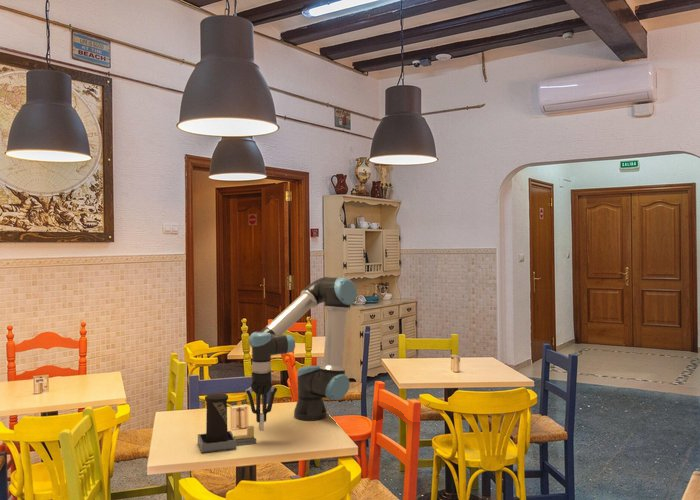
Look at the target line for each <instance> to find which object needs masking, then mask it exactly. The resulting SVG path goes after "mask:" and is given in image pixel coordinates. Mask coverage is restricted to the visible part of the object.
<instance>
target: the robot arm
mask: <svg viewBox="0 0 700 500" xmlns="http://www.w3.org/2000/svg"><path fill="white" fill-rule="evenodd" d="M357 293H358V292H357V287H356V284H354V282H353V281H352V280H351V279H350V278H345V277H330V276H324V277H319V278H317V279H316V280H314V281H313V282H311V283H310V284H308V285H307V286H306V287H304V289H303V290H302V291H301V292H300V295H299V296H298V297H296V299H295V300H294V301H292V302H291V303H290V304H289V305H288V306H287V307H286V308H285V309H283V311H282V312H280V313H279V314H277V316H276V317H275V318H274V319H272V320H271V322H270V323H269V324H267V325H266V326H265V327H264V328H263V329H262V330H260V331H254V332H252V333H251V334H249V335H250V336H249V338H248V344H249V346H250V348H251V371H252V372H251V384H250V387H249V388H246V389H245V390H244V391H245V394H247V398H248V400H249V401H248V402H249V406H250V409H251V413H252V414H255V416H256V419H255V420H256V421H255V422H256V423H258V430H259V431H260V432H262V431H263V432H264V431H265V422H267V414H268V413H271V411H272V408H273V404H274V401H275V400H274V399H275V395H276V393H277V392H278V388H277V387H275V386H274V385H273V383H272V381H271V379H272V373H271V371H272V370H271V368H272V359H271V358H272V356H276V355H284V354H285V355H286V354H289V353H292V352H293V351H295V347H296V340H295V338H294V337H293V336H292V335H291V334H285V333H286V332H287V331H288V330H289V329H290V328H291V327H293V326H294V324H296V323H297V322H298V321H299V320H300V319H301V318H302V317H303V316H304V315H305V314H306V313H307V312H308V311H310V310H311V309H312V308H316V307H317V306H318V305H319V304H322V303H323V304H324V307H325V309H326V310H327V313H326V314H327V315H326V316H327V317H326V324H325V325H326V328H325V337H324V339H325V341H324V351H323V362H322V365H318V364H317V365H308V366H307V365H306V366H303V367H300V368H298V370H297V400H296V401H297V402H296V405H295V408H294V412H293V415H294V417H293V418H295V419H297V420H301V421H318V420H323V419H325V418H327V417H328V412H327V407H326V404H325V401H324V398H325V399H327V400H330V401H331V400H332V401H333V400H334V401H339V400H341V399H342V398H344V397H345V395H347V393H348V391H349V388H350V379H349V377H348V376H347V375H346V368H345V367H344V366H343V358H344V347H345V346H344V345H345V337H346V336H345V335H346V322H347V312H348V311H349V310H350V309H351V305H352V304H353V303H354V302H355V301H356V299H357V295H358V294H357ZM253 392H254V394H255V398H256V399H255V403H254V398H253V395H252V394H253ZM269 392H270V394H269V397H268V393H269ZM261 397H262V398H261ZM267 397H268V401H267ZM261 401H262V410H261ZM261 411H262V412H261Z"/></svg>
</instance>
